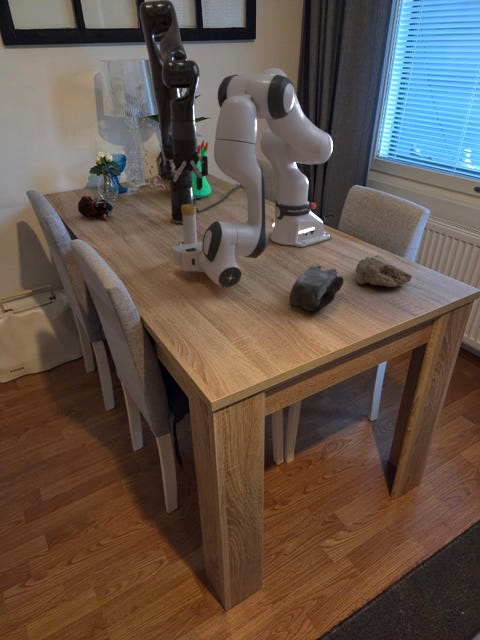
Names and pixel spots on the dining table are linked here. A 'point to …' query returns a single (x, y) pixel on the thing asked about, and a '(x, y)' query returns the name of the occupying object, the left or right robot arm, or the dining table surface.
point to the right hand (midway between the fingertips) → (194, 241)
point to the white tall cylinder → (189, 229)
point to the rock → (315, 288)
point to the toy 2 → (206, 188)
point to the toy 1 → (95, 207)
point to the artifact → (380, 273)
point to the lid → (188, 209)
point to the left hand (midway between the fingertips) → (187, 191)
